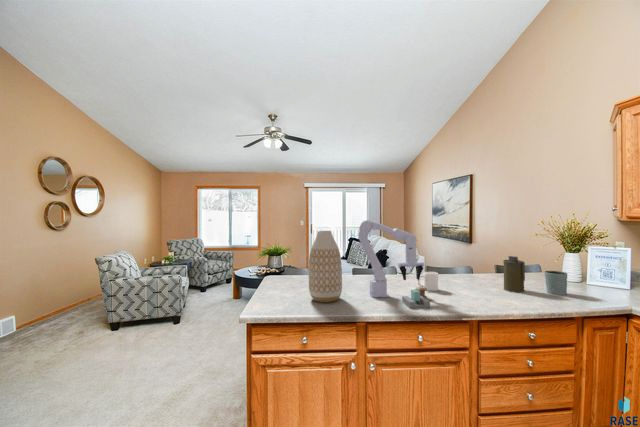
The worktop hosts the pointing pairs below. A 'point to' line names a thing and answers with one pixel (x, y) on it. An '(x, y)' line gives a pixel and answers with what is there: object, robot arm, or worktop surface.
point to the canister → (514, 275)
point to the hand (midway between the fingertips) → (411, 279)
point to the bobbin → (422, 291)
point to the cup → (430, 281)
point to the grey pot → (556, 282)
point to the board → (411, 303)
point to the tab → (415, 296)
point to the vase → (325, 268)
